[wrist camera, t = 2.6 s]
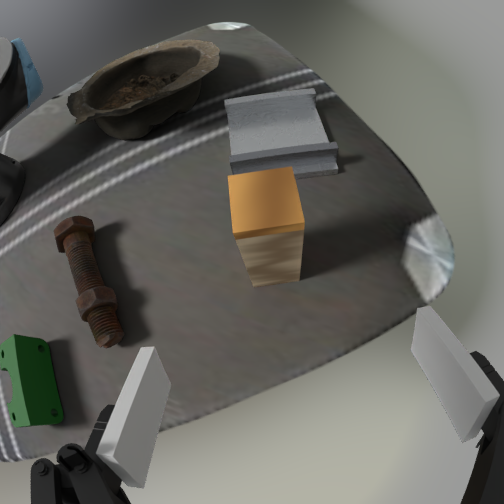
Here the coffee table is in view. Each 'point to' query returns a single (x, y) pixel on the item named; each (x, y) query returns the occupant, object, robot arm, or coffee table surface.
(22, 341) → the green notched mounting bracket
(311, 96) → the keeper bracket
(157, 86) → the stone bowl
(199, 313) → the coffee table surface
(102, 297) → the bolt
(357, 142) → the coffee table surface
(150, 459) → the robot arm
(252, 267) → the block
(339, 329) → the coffee table surface
